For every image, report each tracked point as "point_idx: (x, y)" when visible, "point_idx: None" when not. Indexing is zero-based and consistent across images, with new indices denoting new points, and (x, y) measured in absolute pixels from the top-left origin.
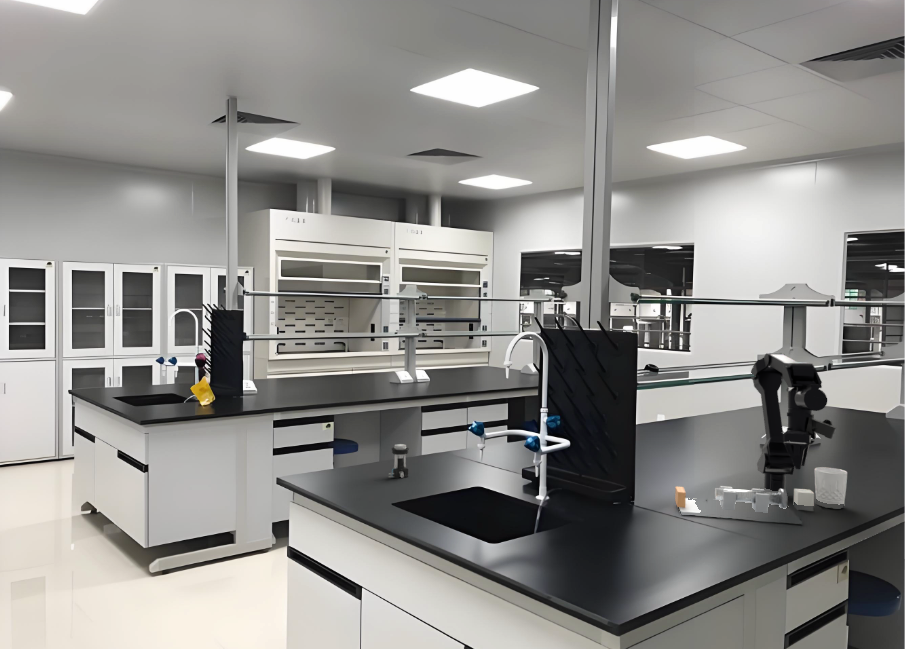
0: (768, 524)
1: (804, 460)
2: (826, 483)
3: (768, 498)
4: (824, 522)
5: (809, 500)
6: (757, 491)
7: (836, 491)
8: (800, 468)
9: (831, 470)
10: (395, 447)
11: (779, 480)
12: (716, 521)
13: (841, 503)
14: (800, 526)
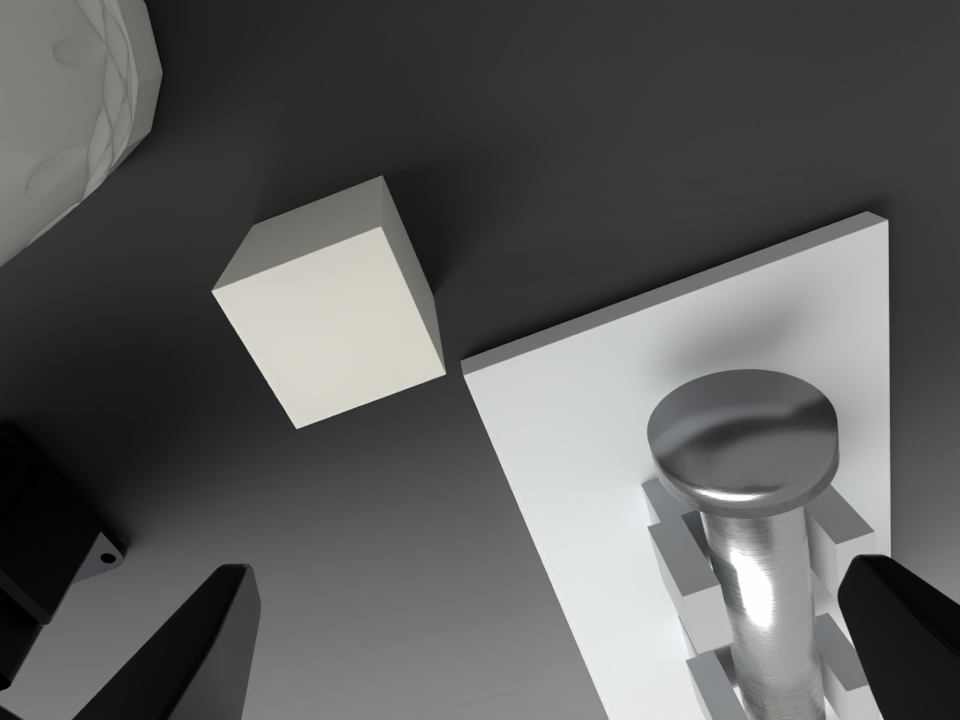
0: (912, 392)
1: (212, 653)
2: (58, 118)
3: (856, 513)
4: (708, 54)
5: (398, 243)
6: (794, 608)
7: None
8: (893, 561)
9: None
10: None
11: (5, 585)
12: (933, 586)
13: None
14: (897, 217)
